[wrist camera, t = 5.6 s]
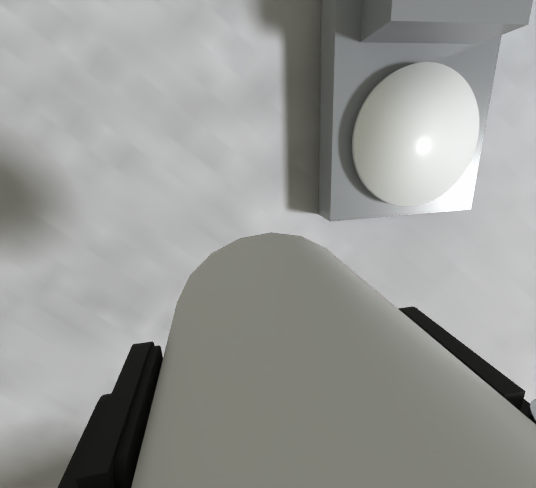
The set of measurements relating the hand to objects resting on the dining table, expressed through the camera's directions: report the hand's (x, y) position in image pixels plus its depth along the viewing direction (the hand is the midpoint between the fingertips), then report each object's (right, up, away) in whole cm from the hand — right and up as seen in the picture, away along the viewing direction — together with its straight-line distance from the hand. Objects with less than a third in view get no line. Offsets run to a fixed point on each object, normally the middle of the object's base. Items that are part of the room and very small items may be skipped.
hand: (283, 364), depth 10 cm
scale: (+11, +16, +17) cm, 26 cm away
